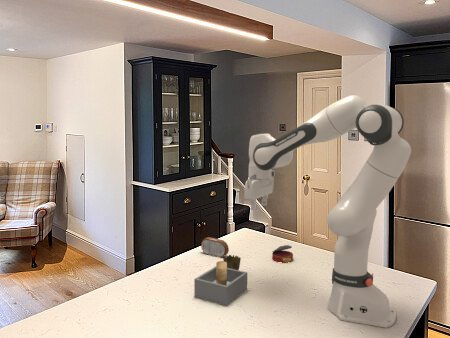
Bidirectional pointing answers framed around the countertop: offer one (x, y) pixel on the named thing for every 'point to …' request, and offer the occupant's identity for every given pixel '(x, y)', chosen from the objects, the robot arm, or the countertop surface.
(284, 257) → the canned food
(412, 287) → the countertop surface
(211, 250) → the tin
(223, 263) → the oak peg
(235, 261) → the ornate bronze lampshade
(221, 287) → the socket box
